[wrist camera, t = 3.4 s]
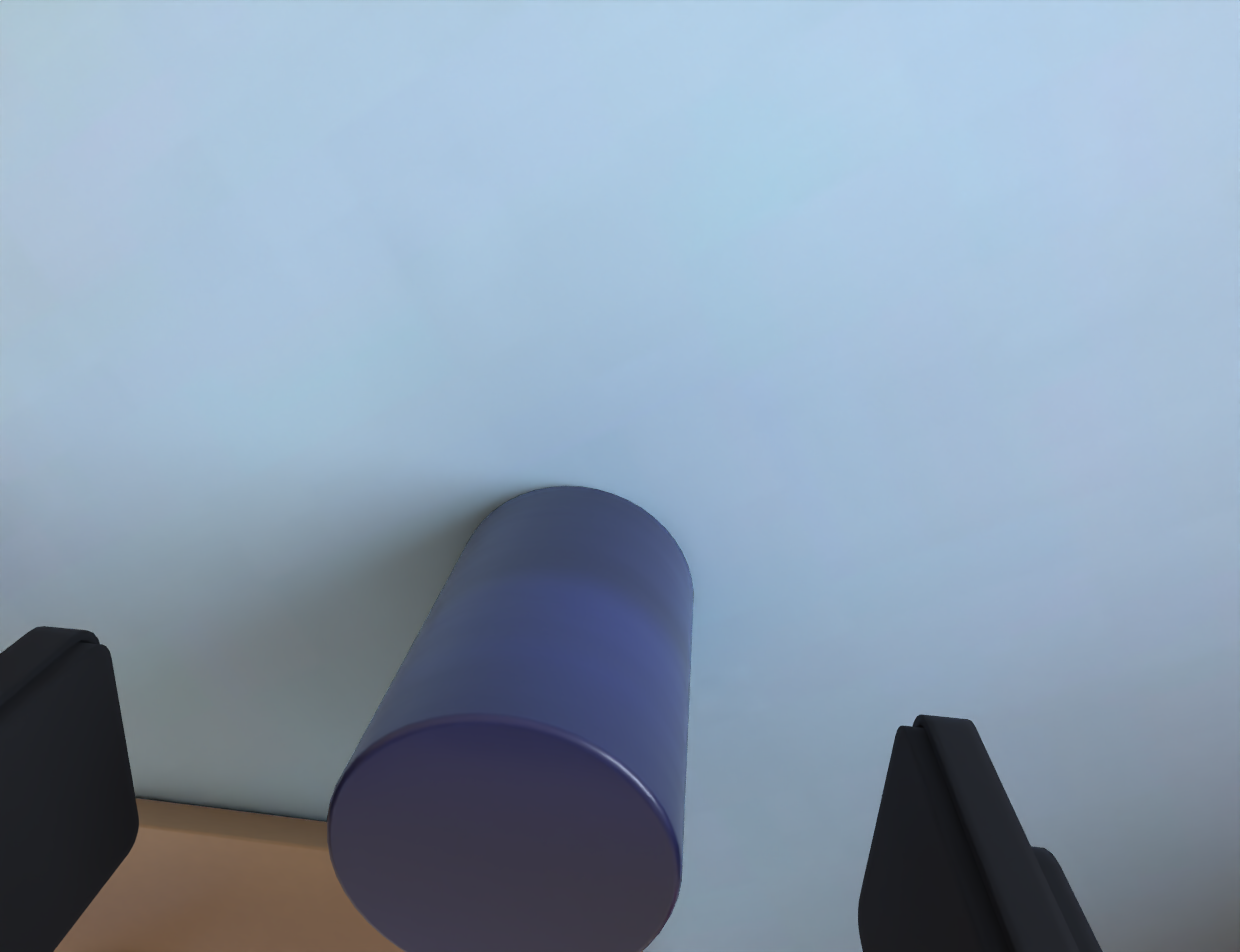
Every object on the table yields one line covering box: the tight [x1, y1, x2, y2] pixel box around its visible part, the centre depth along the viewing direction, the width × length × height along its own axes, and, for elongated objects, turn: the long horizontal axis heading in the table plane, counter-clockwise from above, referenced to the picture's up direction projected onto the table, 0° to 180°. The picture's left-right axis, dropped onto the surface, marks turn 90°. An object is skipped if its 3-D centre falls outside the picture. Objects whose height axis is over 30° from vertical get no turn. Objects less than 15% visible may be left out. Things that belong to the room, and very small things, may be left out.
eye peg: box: [327, 486, 694, 952], centre depth 11 cm, size 3×3×5 cm
